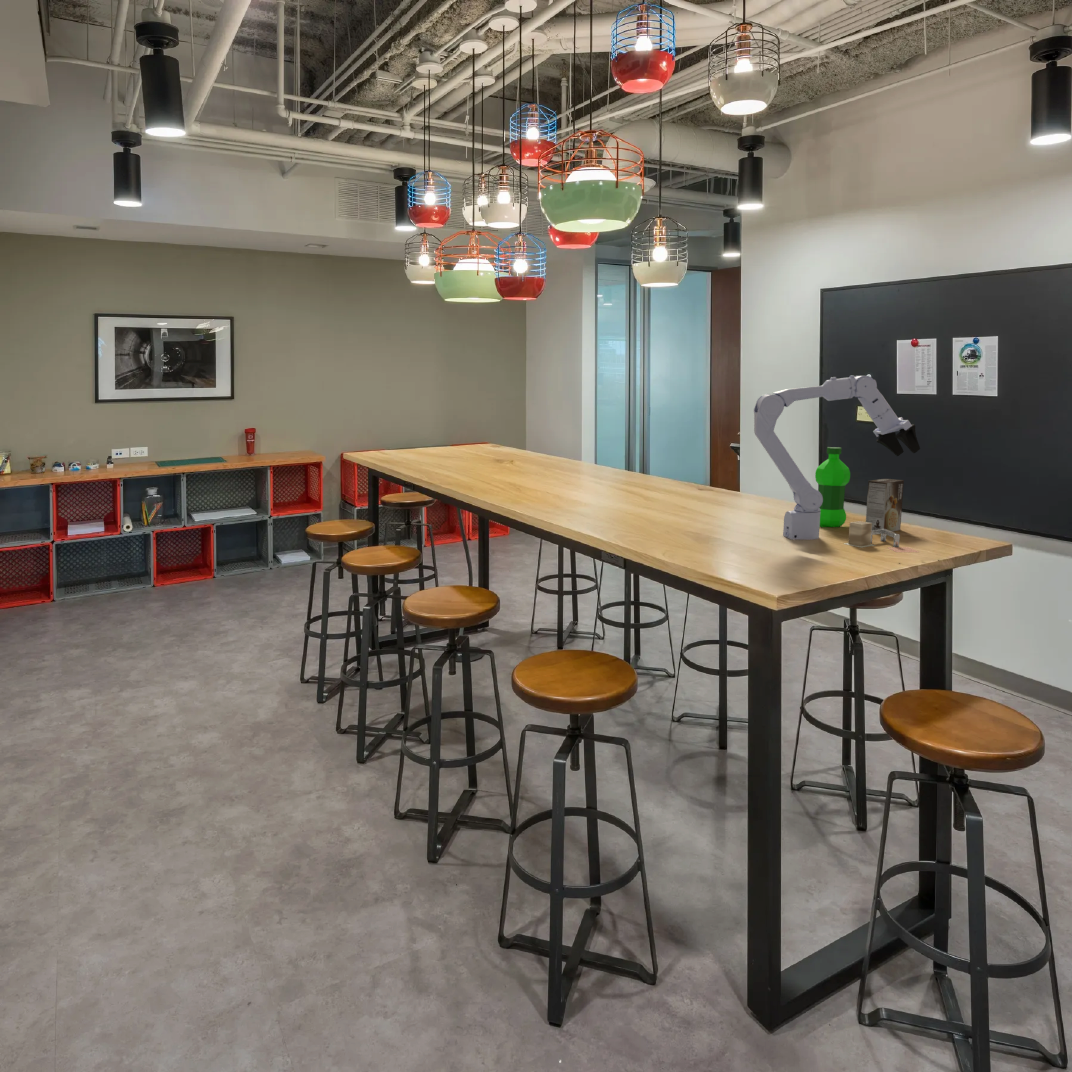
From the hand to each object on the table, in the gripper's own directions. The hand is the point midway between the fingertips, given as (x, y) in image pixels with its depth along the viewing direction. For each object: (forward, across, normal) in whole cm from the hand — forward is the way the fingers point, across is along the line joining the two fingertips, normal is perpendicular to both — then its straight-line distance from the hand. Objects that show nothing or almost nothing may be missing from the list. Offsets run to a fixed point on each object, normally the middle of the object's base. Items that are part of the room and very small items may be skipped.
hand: (908, 452), depth 226 cm
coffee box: (+20, +19, +11) cm, 30 cm away
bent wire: (+15, -1, +23) cm, 27 cm away
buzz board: (+15, -3, +25) cm, 29 cm away
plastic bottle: (+12, +30, +19) cm, 37 cm away
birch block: (+11, -1, +28) cm, 30 cm away
